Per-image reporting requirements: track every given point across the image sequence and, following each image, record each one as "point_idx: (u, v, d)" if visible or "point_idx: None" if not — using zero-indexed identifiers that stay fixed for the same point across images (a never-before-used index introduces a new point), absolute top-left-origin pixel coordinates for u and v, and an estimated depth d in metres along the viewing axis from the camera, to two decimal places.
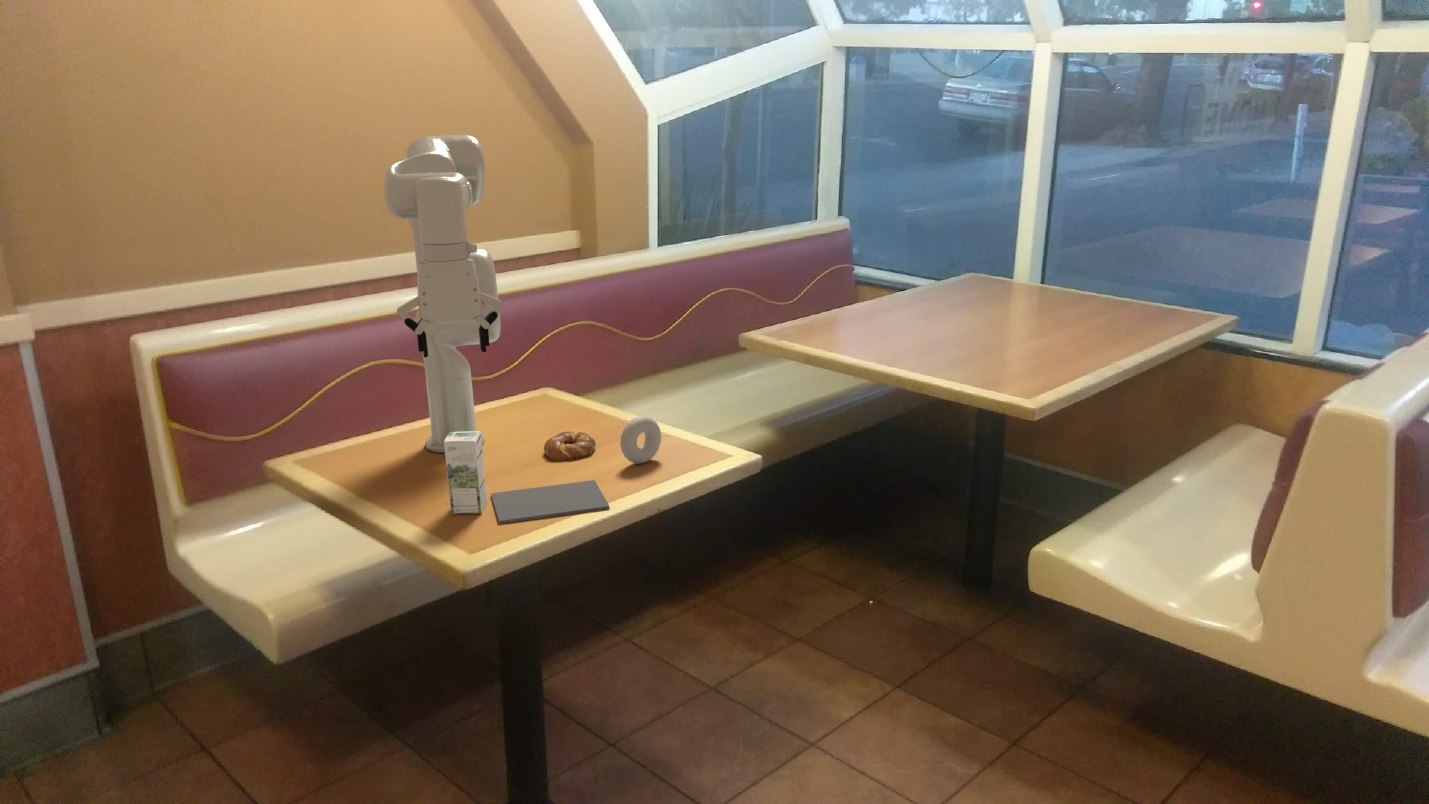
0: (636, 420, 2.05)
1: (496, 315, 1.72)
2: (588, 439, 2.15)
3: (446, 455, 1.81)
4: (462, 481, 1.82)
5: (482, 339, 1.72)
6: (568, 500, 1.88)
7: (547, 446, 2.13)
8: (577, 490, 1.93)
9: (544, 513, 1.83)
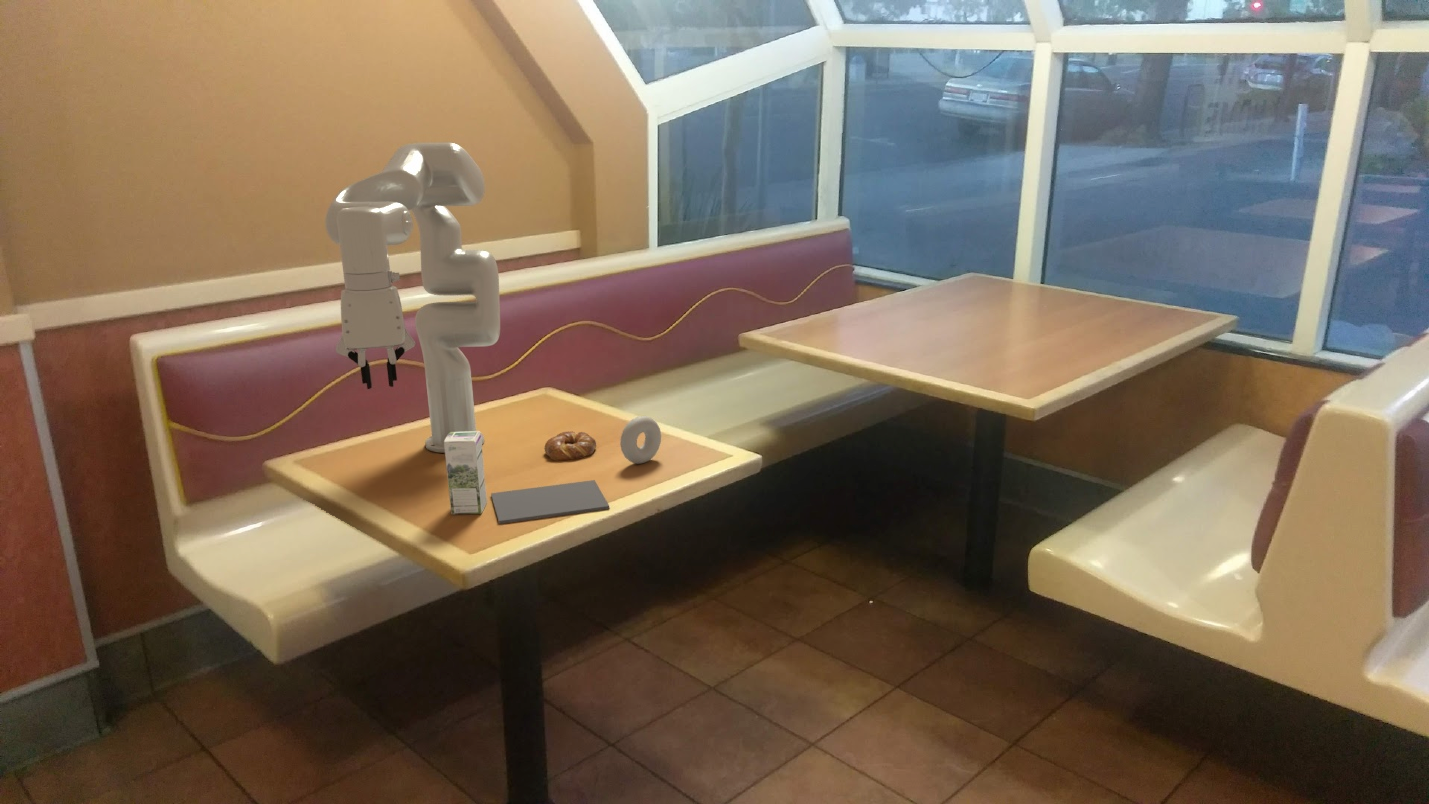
0: (636, 420, 2.05)
1: (403, 350, 1.75)
2: (589, 439, 2.15)
3: (446, 455, 1.81)
4: (462, 481, 1.82)
5: (389, 374, 1.74)
6: (568, 500, 1.88)
7: (547, 446, 2.13)
8: (577, 490, 1.93)
9: (544, 513, 1.83)
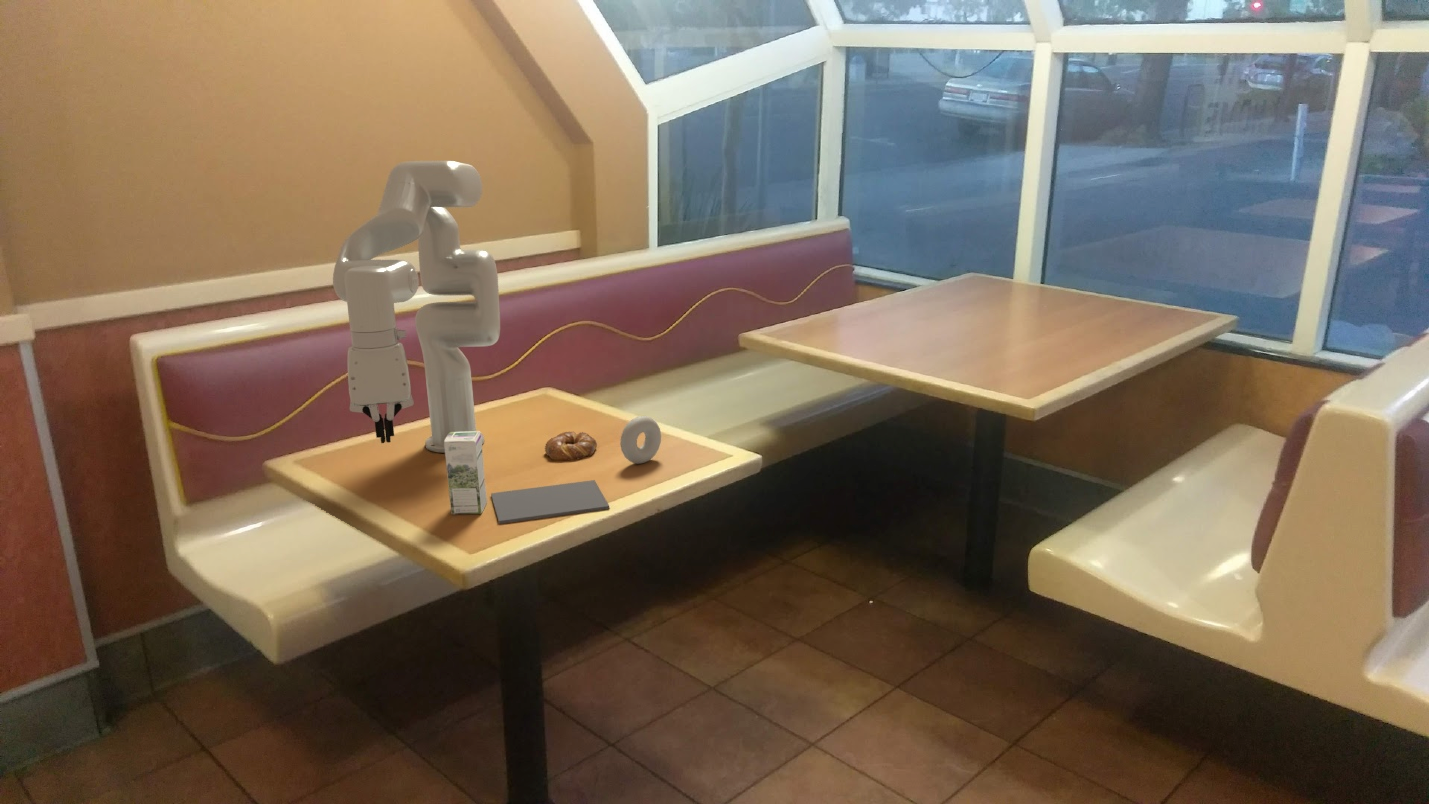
0: (636, 420, 2.05)
1: (400, 407, 1.77)
2: (589, 439, 2.15)
3: (446, 455, 1.81)
4: (462, 481, 1.82)
5: (386, 430, 1.76)
6: (568, 500, 1.88)
7: (548, 446, 2.13)
8: (577, 490, 1.93)
9: (544, 513, 1.83)
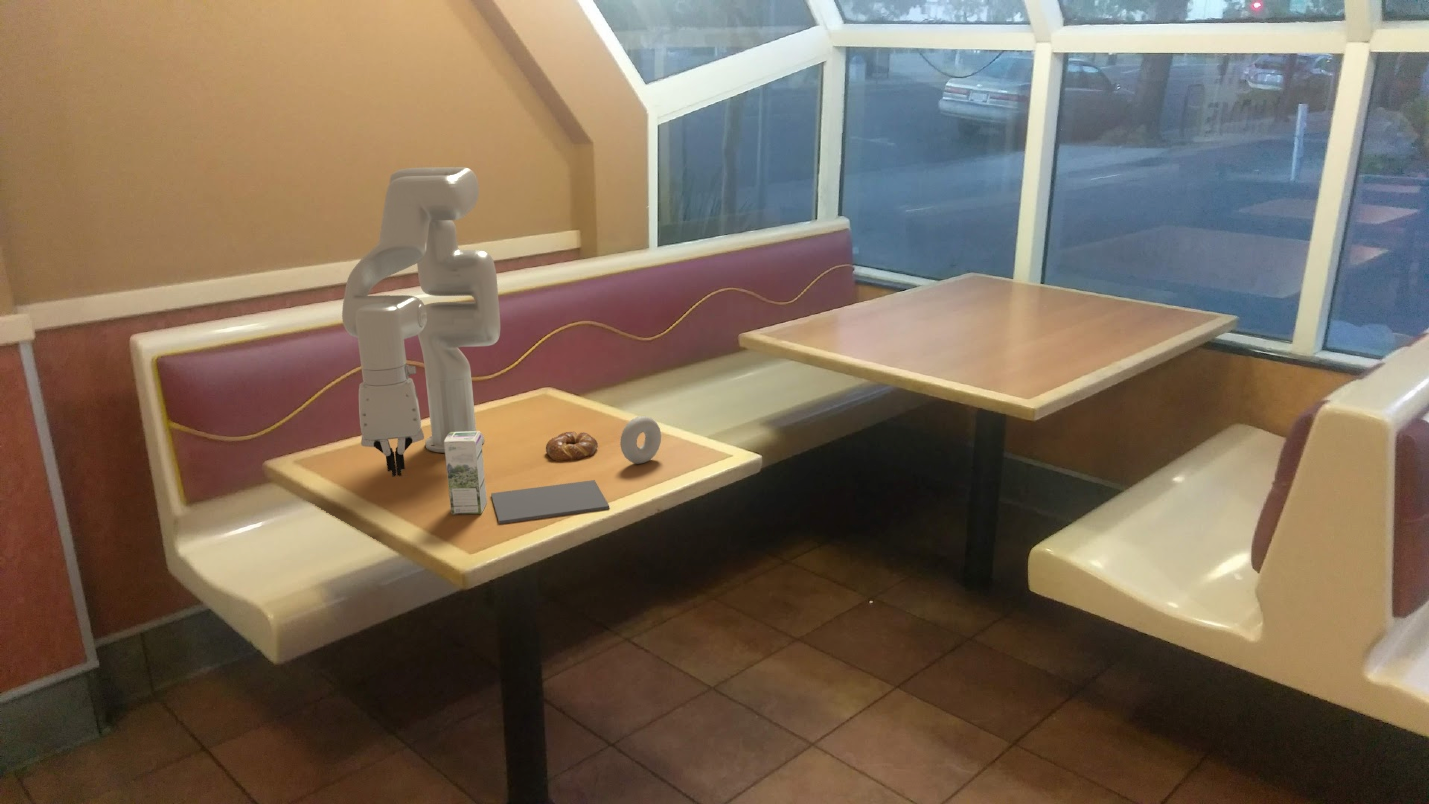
0: (636, 420, 2.05)
1: (411, 441, 1.79)
2: (590, 439, 2.15)
3: (446, 455, 1.81)
4: (462, 481, 1.82)
5: (397, 464, 1.79)
6: (568, 500, 1.88)
7: (549, 446, 2.13)
8: (577, 490, 1.93)
9: (544, 513, 1.83)
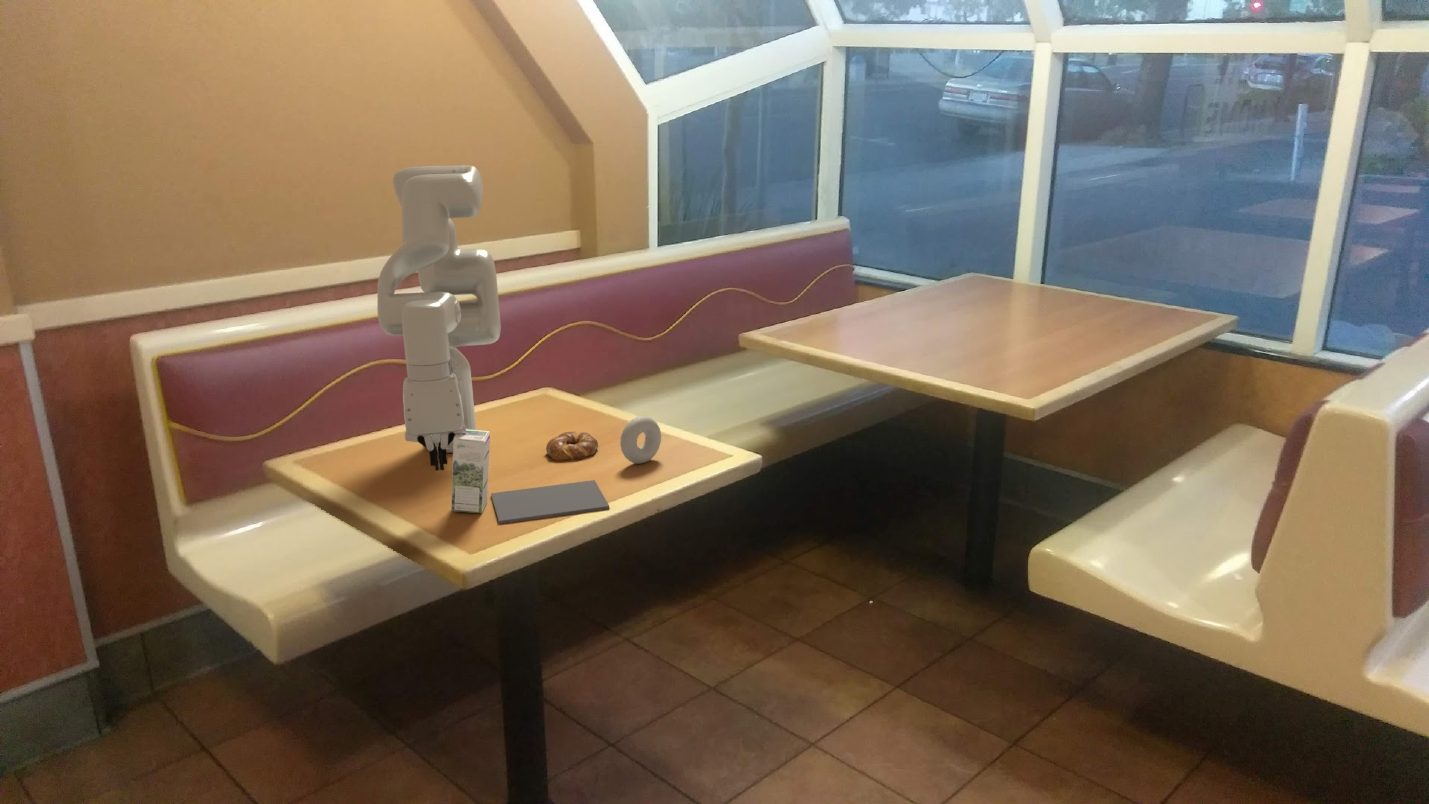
0: (636, 420, 2.05)
1: (453, 436, 1.81)
2: (590, 439, 2.15)
3: (454, 452, 1.81)
4: (466, 479, 1.82)
5: (440, 459, 1.81)
6: (568, 500, 1.88)
7: (549, 446, 2.13)
8: (577, 490, 1.93)
9: (544, 513, 1.83)
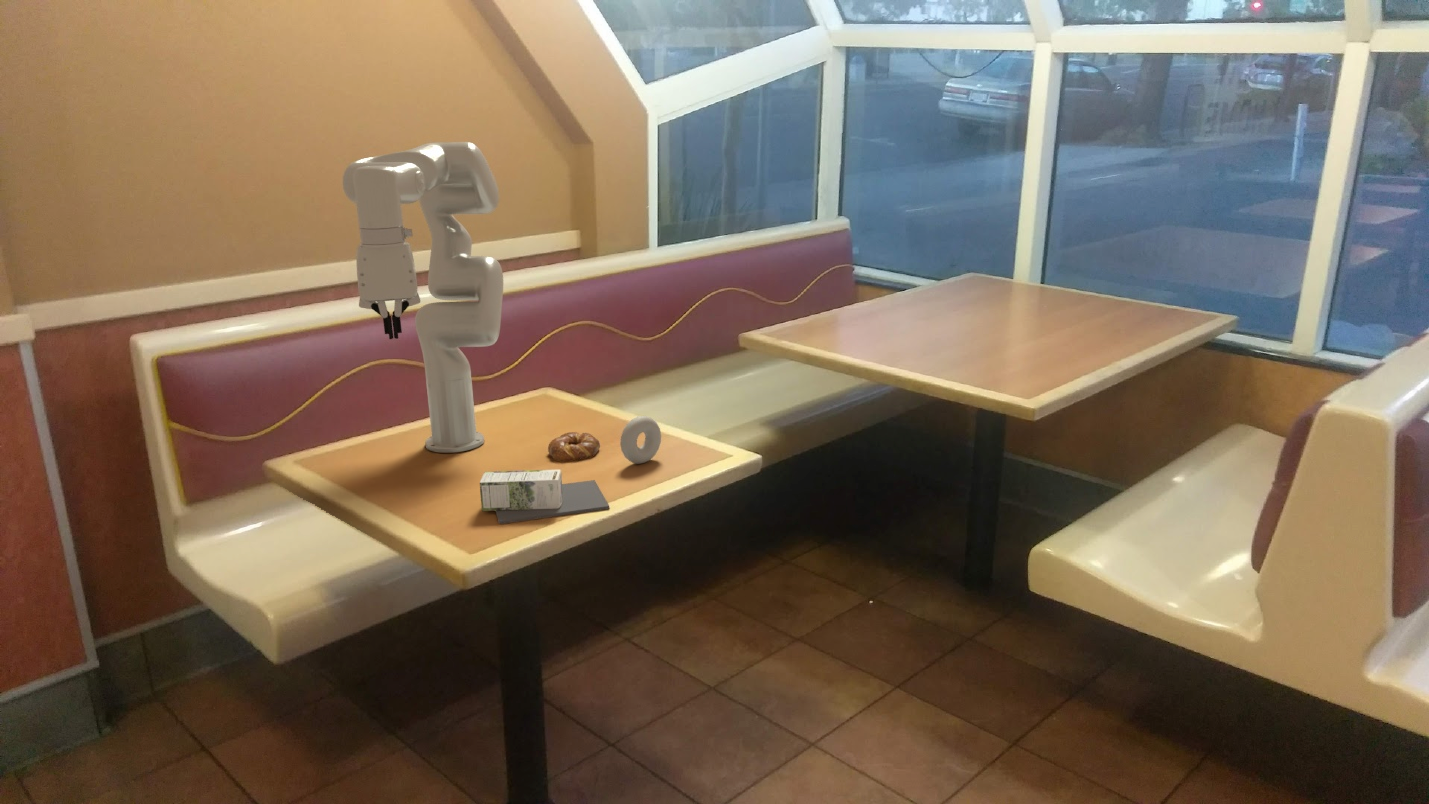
0: (636, 420, 2.05)
1: (407, 304, 1.83)
2: (592, 440, 2.15)
3: (543, 481, 1.83)
4: (517, 495, 1.83)
5: (394, 326, 1.83)
6: (568, 500, 1.88)
7: (551, 446, 2.13)
8: (577, 490, 1.93)
9: (544, 513, 1.83)
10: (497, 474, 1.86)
